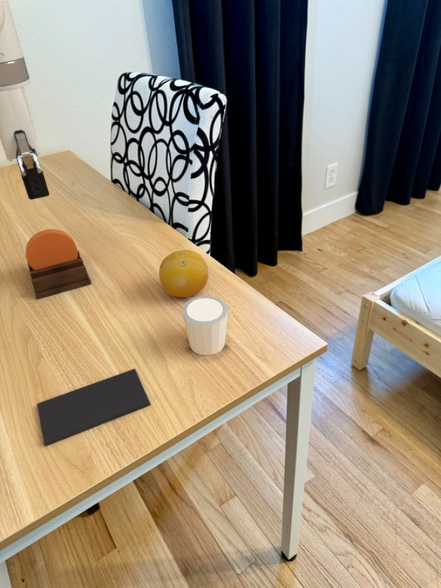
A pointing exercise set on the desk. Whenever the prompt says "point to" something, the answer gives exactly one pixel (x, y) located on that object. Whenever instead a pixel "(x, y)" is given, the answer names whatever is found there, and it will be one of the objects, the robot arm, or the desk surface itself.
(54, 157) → the desk surface
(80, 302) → the desk surface
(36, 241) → the disc
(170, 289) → the fruit
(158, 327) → the desk surface
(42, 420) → the mat
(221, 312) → the shot glass
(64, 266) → the rack
